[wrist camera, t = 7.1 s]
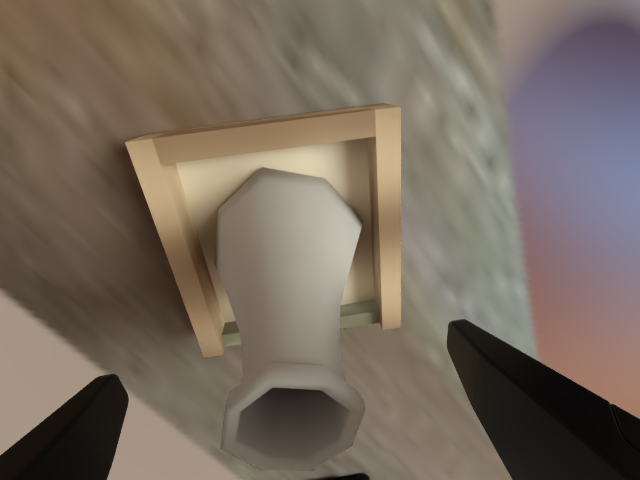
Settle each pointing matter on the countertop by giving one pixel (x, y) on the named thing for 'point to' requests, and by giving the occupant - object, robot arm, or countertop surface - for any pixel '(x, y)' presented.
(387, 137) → the tray
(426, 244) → the countertop surface
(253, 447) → the flask
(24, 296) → the countertop surface
